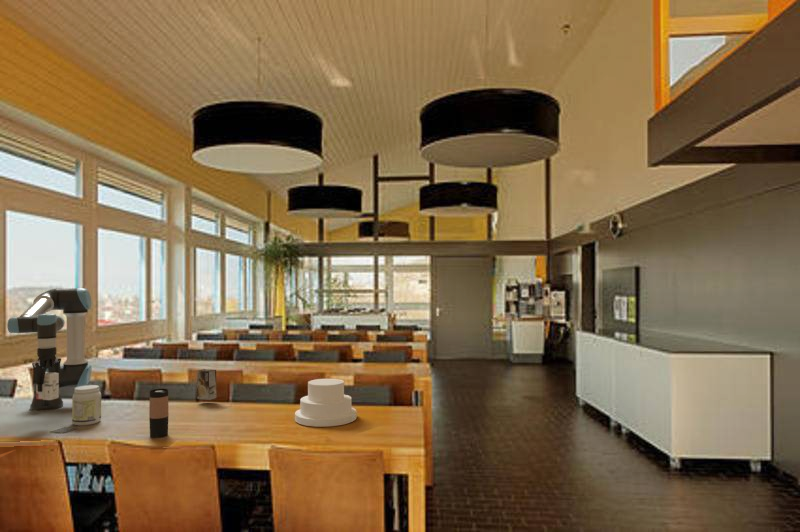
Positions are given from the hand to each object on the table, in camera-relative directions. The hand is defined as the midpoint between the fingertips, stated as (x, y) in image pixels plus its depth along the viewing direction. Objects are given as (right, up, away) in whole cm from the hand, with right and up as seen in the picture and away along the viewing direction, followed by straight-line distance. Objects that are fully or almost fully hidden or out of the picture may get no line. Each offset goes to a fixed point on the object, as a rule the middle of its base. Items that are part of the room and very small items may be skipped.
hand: (47, 396), depth 254 cm
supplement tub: (+14, -14, +7) cm, 21 cm away
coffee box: (+54, -15, +57) cm, 80 cm away
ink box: (0, -1, 0) cm, 1 cm away
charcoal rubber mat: (+12, -14, -7) cm, 19 cm away
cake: (+128, -14, +13) cm, 130 cm away
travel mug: (+59, -14, -16) cm, 63 cm away
